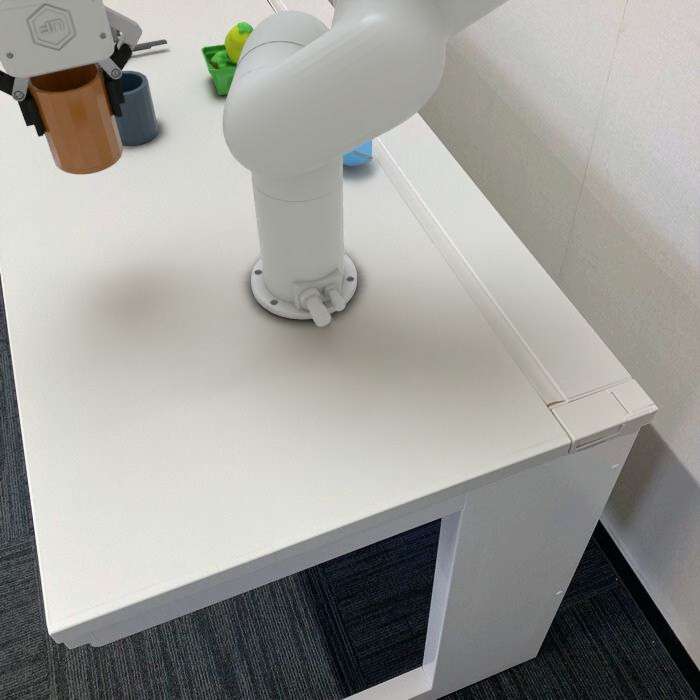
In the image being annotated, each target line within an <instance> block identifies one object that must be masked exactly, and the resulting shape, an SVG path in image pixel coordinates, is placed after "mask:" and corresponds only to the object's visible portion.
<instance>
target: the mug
mask: <svg viewBox="0 0 700 700" xmlns="http://www.w3.org/2000/svg"><path fill="white" fill-rule="evenodd" d="M119 79H120V82H121V86H122V90H123V94H124V98H125V103H124V104H120V108H121V111H122V115H123V116H122V117H118V118H117V116H116V117H115V120H116V124H117V127H118V131H119V135H120V139H121V142H122V145H125V146H138V145H139V146H140V145H143V144H146V143H148V142H151V141H152V140H153V139H155V138H156V137H157V135H158V134H159V125H158V119H157V115H156V111H155V106H154V103H153V102H154V101H153V97H152V93H151V87H150V83H149V80H148V78H147V76H146V75H145V74H144V73H142V72H139V71H136V70H122V75H121V77H120V78H119ZM114 116H115V115H114Z"/></svg>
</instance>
